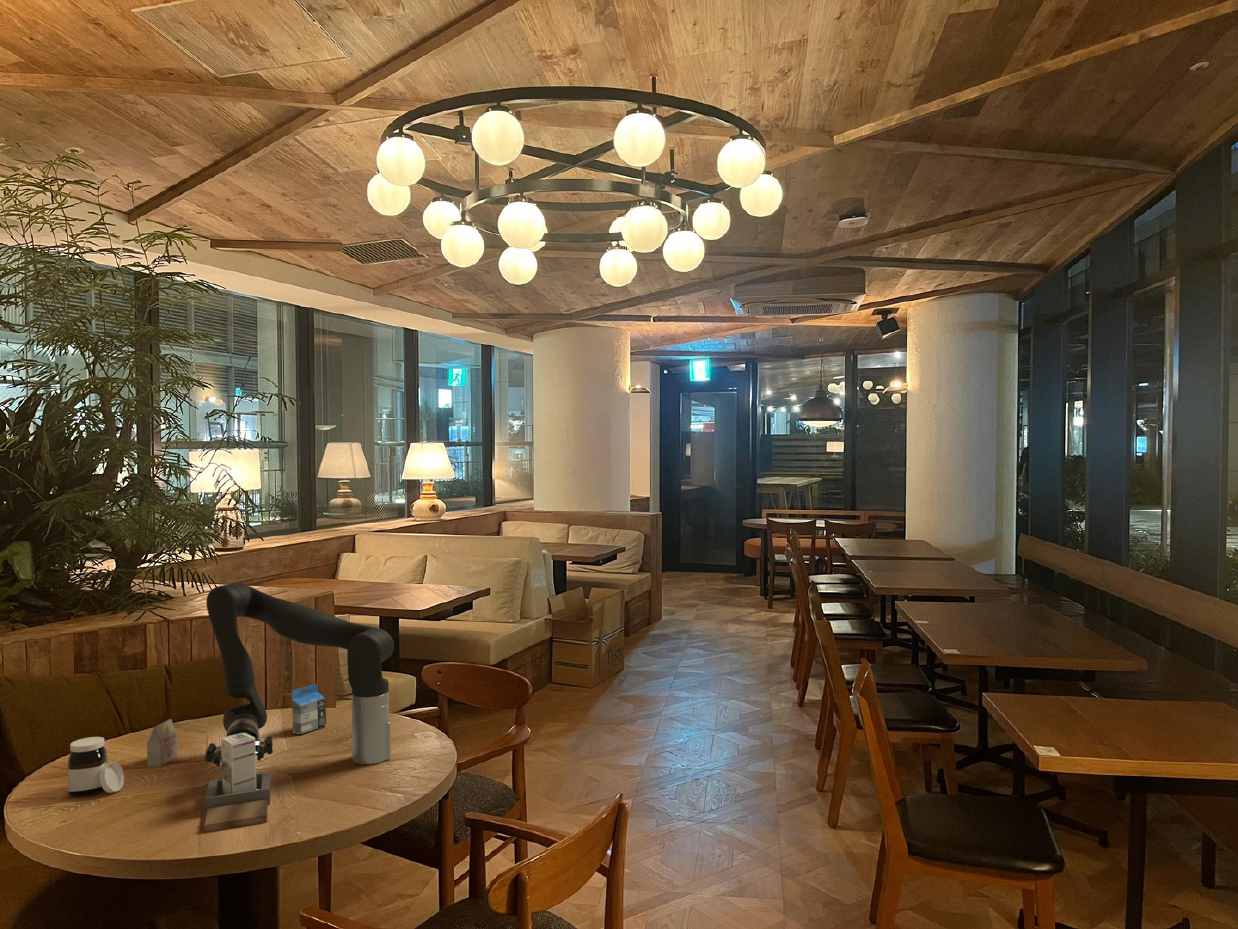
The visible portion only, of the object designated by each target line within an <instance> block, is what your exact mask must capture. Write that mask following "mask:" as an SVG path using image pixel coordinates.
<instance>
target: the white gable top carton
mask: <svg viewBox="0 0 1238 929" xmlns="http://www.w3.org/2000/svg"><path fill="white" fill-rule="evenodd" d="M146 751H147V753H146V757H147V758H146V763H147V767H152V768H153V767H156V768H158V767H159V768H160V767H163V766H164V765H167V764H169V763H170V762H171V761H173V760H176V759H177V758H178V756H179V755H178V733H177V731H176V729H175V726H174V724H173V720H172V719H171V718H170V719H168V720H166V721H163V722H162V723H160V724H157V725H156V726H153V728H152V731H151V735H150V736H149V739H148V740H147V742H146Z"/></svg>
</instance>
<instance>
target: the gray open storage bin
mask: <svg viewBox="0 0 1238 929" xmlns="http://www.w3.org/2000/svg"><path fill="white" fill-rule="evenodd" d="M256 788H257V789H259V790H252V791H246V792H239V793H232V794H225V795H222V778H219V779H214V780H213V779H212V780H209V782H208V786H207V790H206V794H205V800H204V801H205V805H204V806H205V815H207V810H208V808H213V807H220V806H226V805H233V804H239V803H246V802H252V801H259V800H265V799H267V804H270V805H271V772H270V771H268V772H262V773H261V772H260V773H256Z"/></svg>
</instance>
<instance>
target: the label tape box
mask: <svg viewBox="0 0 1238 929" xmlns="http://www.w3.org/2000/svg"><path fill="white" fill-rule="evenodd" d="M318 687H319V684H318V683H314V684H312V685H311V684H310V685H308V686H304V687H300V688H296V689H294V690H292V692H291V710H292V711H291V712H292V713H291V714H292V733H293V732H295V733H300V734H303V733H305V732H307V731H309V730H314V729H317V728H320V727H322V726H325V725H326V726H327V704H326V698H325V697H324V696H323V695H322V694H321V693H319V692H318ZM305 691H308V692H305ZM303 692H304V693H303ZM320 729H321V728H320ZM317 730H318V729H317ZM314 731H315V730H314ZM303 735H304V734H303Z"/></svg>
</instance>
